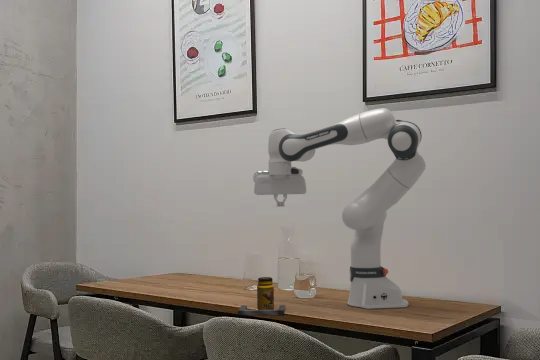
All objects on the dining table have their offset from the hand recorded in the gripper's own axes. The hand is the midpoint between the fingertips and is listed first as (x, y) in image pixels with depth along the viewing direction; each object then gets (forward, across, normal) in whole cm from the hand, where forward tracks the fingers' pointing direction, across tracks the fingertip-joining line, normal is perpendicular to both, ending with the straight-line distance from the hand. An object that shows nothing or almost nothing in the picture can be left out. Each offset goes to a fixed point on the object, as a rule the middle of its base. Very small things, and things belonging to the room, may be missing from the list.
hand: (280, 206), depth 241 cm
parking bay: (+37, -6, -18) cm, 42 cm away
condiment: (+37, -6, -16) cm, 41 cm away
